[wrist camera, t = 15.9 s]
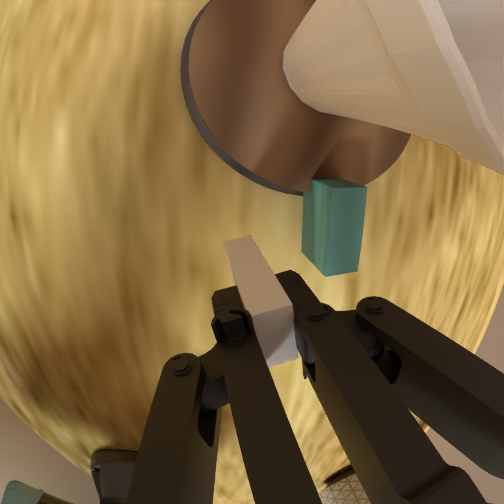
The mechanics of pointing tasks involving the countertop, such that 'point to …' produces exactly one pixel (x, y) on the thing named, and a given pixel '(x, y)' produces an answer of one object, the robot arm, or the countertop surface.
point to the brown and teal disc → (286, 124)
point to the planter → (344, 490)
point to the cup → (407, 69)
